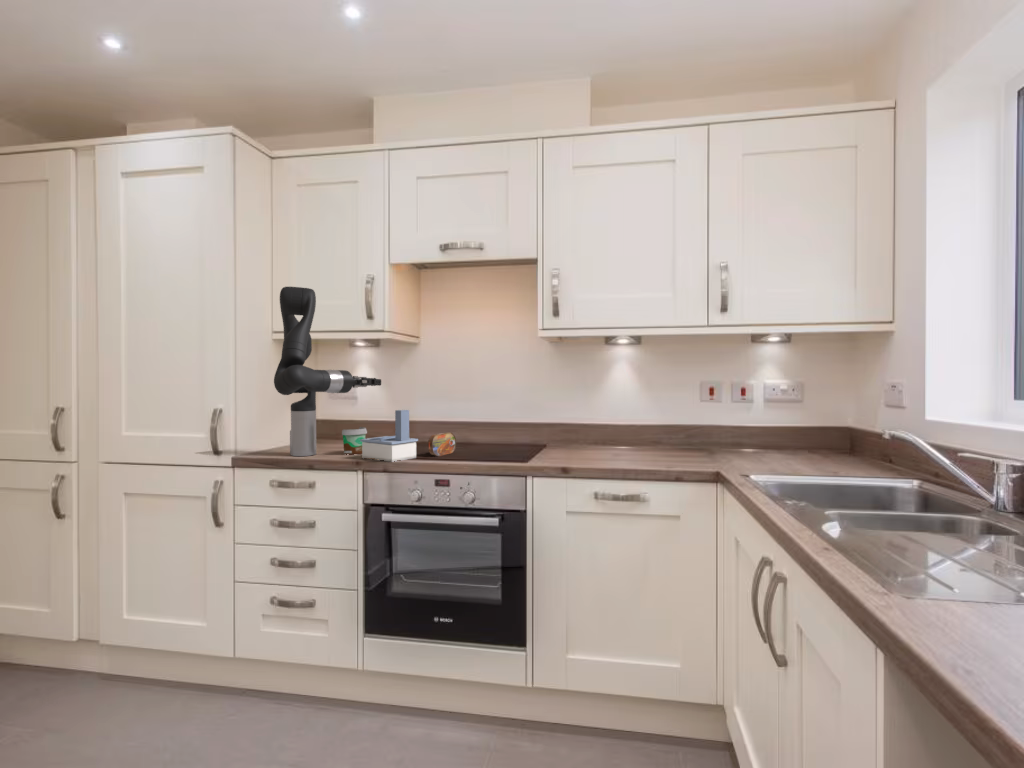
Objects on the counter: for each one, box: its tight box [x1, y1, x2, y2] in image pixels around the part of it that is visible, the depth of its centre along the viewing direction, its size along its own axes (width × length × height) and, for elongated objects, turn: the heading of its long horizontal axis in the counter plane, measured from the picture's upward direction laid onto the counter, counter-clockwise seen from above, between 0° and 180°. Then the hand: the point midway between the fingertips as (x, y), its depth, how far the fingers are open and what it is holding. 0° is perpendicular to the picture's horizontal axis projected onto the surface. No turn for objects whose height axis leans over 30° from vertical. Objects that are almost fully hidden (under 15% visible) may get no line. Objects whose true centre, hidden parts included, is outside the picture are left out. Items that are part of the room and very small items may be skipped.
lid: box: [360, 409, 419, 445], centre depth 207 cm, size 17×13×12 cm
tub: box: [361, 441, 417, 463], centre depth 207 cm, size 16×12×6 cm
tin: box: [427, 431, 457, 457], centre depth 216 cm, size 15×3×8 cm, turn 149°
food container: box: [341, 426, 368, 456], centre depth 219 cm, size 12×6×10 cm, turn 161°
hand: (371, 382), depth 195 cm, fingers open, 8 cm apart
